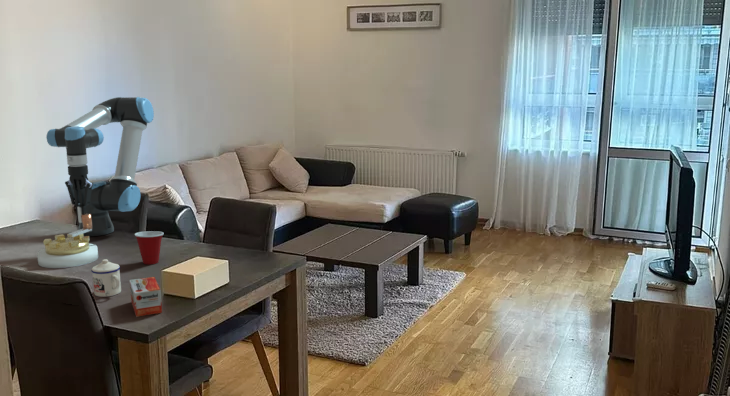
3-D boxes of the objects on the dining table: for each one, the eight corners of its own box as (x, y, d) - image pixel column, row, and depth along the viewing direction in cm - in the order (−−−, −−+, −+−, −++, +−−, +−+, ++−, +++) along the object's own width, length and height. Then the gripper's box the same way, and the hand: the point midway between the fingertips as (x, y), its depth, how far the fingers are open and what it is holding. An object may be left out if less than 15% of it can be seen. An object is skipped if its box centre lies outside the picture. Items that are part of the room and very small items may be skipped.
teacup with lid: (88, 293, 238) (85, 260, 235) (112, 286, 244) (110, 254, 242) (107, 301, 230) (104, 267, 228) (132, 293, 237) (129, 260, 235)
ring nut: (70, 256, 267) (68, 227, 265) (35, 254, 271) (32, 225, 269) (108, 241, 289) (106, 214, 286) (75, 239, 293) (72, 212, 291)
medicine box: (130, 302, 229) (128, 279, 227) (156, 298, 232) (154, 275, 231) (136, 317, 215) (134, 293, 214) (163, 313, 219) (161, 289, 217)
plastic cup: (171, 259, 276) (169, 230, 274) (154, 267, 266) (152, 236, 264) (148, 257, 280) (146, 228, 278) (130, 265, 270) (128, 234, 268)
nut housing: (94, 249, 292) (93, 239, 291) (102, 262, 273) (101, 252, 272) (36, 257, 282) (35, 247, 281) (40, 271, 263) (39, 260, 262)
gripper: (58, 165, 282) (63, 222, 287) (83, 167, 278) (88, 225, 283) (72, 162, 289) (76, 218, 294) (96, 164, 285) (101, 221, 289)
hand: (82, 221), depth 288 cm, fingers closed
